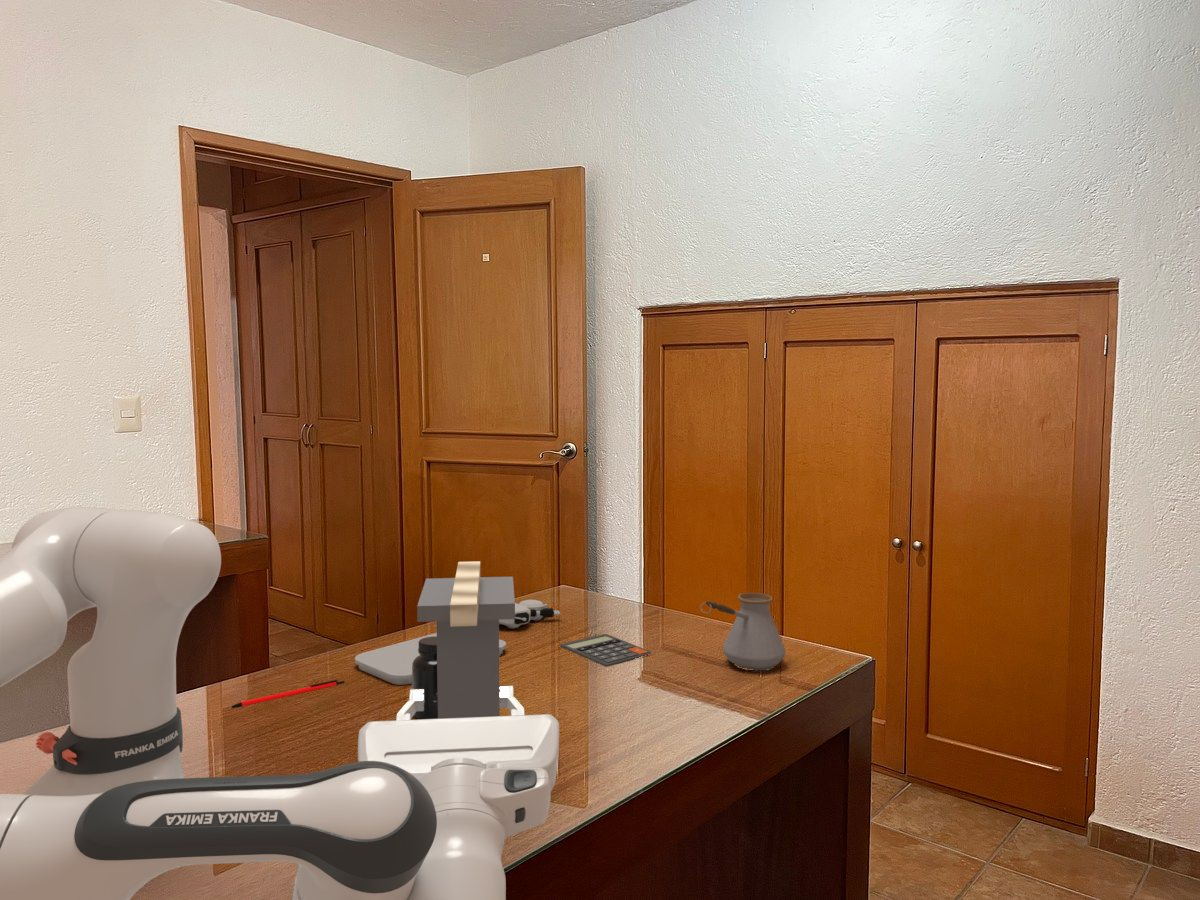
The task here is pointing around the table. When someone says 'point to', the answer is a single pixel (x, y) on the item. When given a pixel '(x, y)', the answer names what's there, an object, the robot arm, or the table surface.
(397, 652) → the tablet
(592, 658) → the calculator
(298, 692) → the pen
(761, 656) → the coffee pot
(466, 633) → the charcoal stand
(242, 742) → the table surface
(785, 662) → the table surface
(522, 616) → the robot toy
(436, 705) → the supplement bottle
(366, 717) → the table surface
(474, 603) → the maple bar
